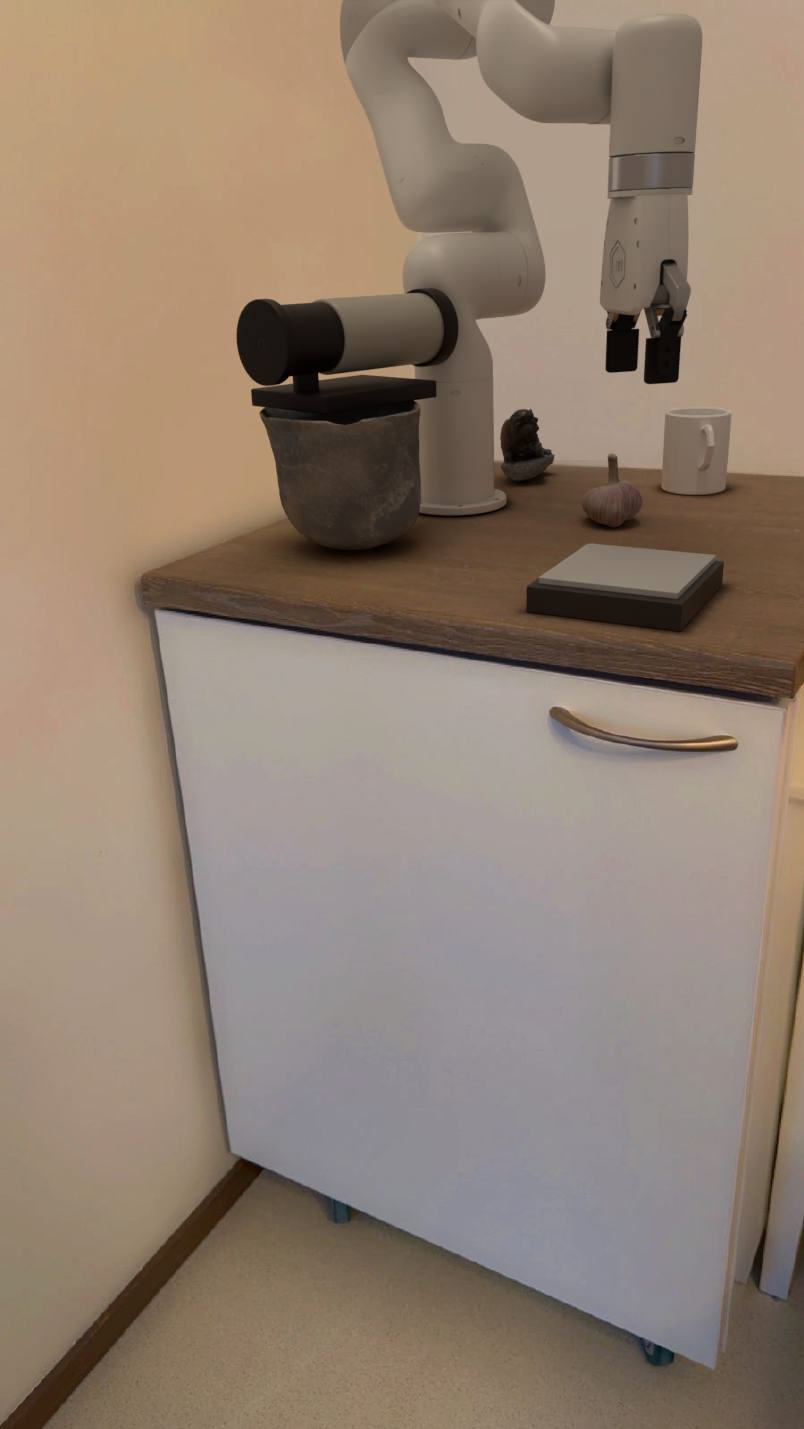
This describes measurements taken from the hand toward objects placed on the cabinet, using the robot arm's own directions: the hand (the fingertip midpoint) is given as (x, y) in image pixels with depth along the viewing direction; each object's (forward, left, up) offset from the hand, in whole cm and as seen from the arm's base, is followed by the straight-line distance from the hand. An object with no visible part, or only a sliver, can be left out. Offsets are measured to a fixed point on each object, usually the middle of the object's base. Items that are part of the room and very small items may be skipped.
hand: (640, 377), depth 103 cm
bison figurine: (-26, +34, -18) cm, 47 cm away
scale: (+4, -13, -18) cm, 23 cm away
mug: (-2, +33, -18) cm, 38 cm away
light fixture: (-35, -14, +3) cm, 37 cm away
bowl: (-31, -6, -18) cm, 36 cm away
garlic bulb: (-7, +14, -18) cm, 24 cm away
